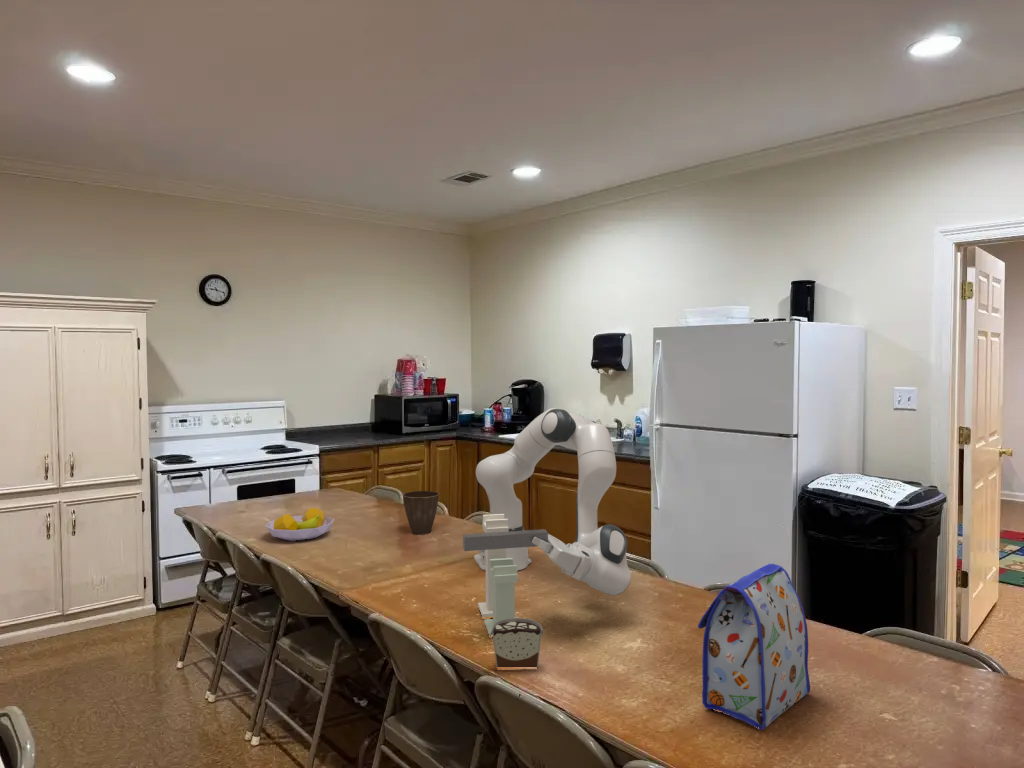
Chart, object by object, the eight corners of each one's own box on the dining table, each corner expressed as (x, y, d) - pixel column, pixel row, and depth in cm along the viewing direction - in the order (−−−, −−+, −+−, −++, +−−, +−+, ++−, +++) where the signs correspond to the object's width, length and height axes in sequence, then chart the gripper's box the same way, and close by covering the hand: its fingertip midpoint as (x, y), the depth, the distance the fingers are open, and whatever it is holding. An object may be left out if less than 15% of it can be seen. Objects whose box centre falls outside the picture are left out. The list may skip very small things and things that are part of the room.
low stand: (517, 622, 184) (516, 556, 183) (524, 635, 175) (523, 566, 174) (484, 625, 182) (483, 558, 182) (489, 638, 173) (488, 568, 173)
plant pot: (400, 529, 287) (400, 491, 286) (435, 526, 291) (435, 489, 291) (406, 538, 273) (405, 498, 272) (442, 535, 277) (442, 496, 276)
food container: (542, 658, 162) (541, 616, 162) (544, 669, 156) (543, 626, 155) (490, 659, 162) (489, 617, 161) (490, 671, 155) (489, 627, 155)
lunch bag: (739, 669, 155) (739, 553, 154) (814, 693, 144) (815, 568, 143) (690, 707, 139) (690, 577, 138) (770, 737, 127) (771, 595, 126)
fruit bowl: (262, 533, 283) (261, 506, 282) (328, 526, 294) (328, 500, 294) (269, 550, 257) (268, 520, 257) (341, 541, 269) (341, 513, 268)
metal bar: (545, 542, 182) (544, 529, 182) (548, 545, 178) (547, 532, 178) (463, 547, 178) (462, 534, 177) (464, 551, 174) (464, 537, 174)
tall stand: (508, 605, 197) (508, 512, 196) (514, 617, 188) (513, 520, 187) (478, 607, 195) (477, 514, 194) (482, 619, 186) (481, 521, 185)
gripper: (570, 539, 192) (528, 517, 189) (591, 559, 172) (545, 535, 169) (559, 559, 191) (517, 537, 189) (580, 582, 171) (533, 558, 169)
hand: (530, 536), depth 179 cm, fingers closed on metal bar, 3 cm apart
